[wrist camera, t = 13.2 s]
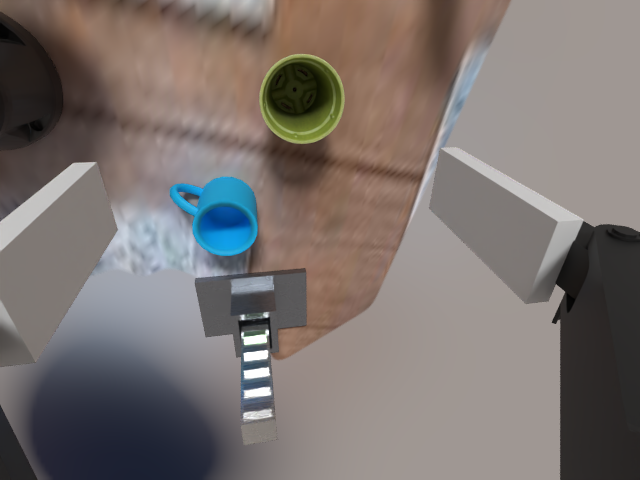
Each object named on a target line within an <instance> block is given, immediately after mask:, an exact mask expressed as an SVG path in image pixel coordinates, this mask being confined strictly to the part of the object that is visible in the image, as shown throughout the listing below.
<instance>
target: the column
mask: <svg viewBox="0 0 640 480" xmlns="http://www.w3.org/2000/svg"><path fill="white" fill-rule="evenodd" d="M241 430H242V436H243V443H244V445H249V444H255V443H261V442H267V441H273V440H277V433H276V419H275V406H274V394H273V381H272V369H271V356H270V344H269V331H268V324H263V325H254V326H245V327H241Z"/></svg>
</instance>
